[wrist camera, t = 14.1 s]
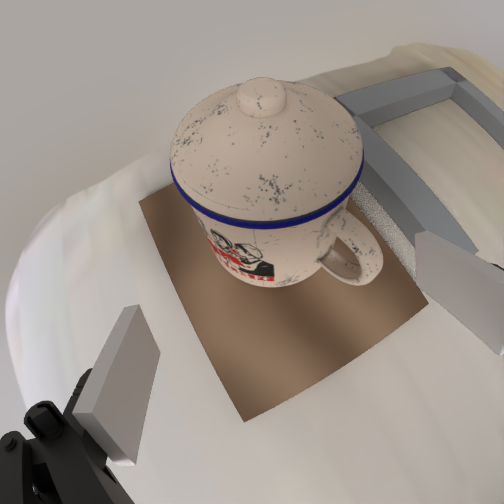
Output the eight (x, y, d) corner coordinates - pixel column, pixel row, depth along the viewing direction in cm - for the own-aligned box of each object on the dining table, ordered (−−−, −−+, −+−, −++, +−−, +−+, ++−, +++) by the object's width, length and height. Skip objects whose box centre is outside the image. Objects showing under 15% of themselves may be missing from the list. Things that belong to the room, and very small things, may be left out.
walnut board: (288, 138, 27) (288, 129, 25) (422, 307, 19) (428, 303, 18) (144, 209, 25) (138, 201, 24) (246, 420, 17) (244, 422, 16)
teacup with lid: (182, 229, 22) (113, 105, 12) (274, 158, 24) (264, 25, 13) (302, 355, 18) (333, 310, 7) (395, 257, 20) (474, 138, 9)
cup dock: (445, 80, 30) (450, 66, 28) (543, 179, 23) (553, 167, 20) (308, 126, 27) (309, 106, 25) (440, 284, 20) (455, 271, 17)
